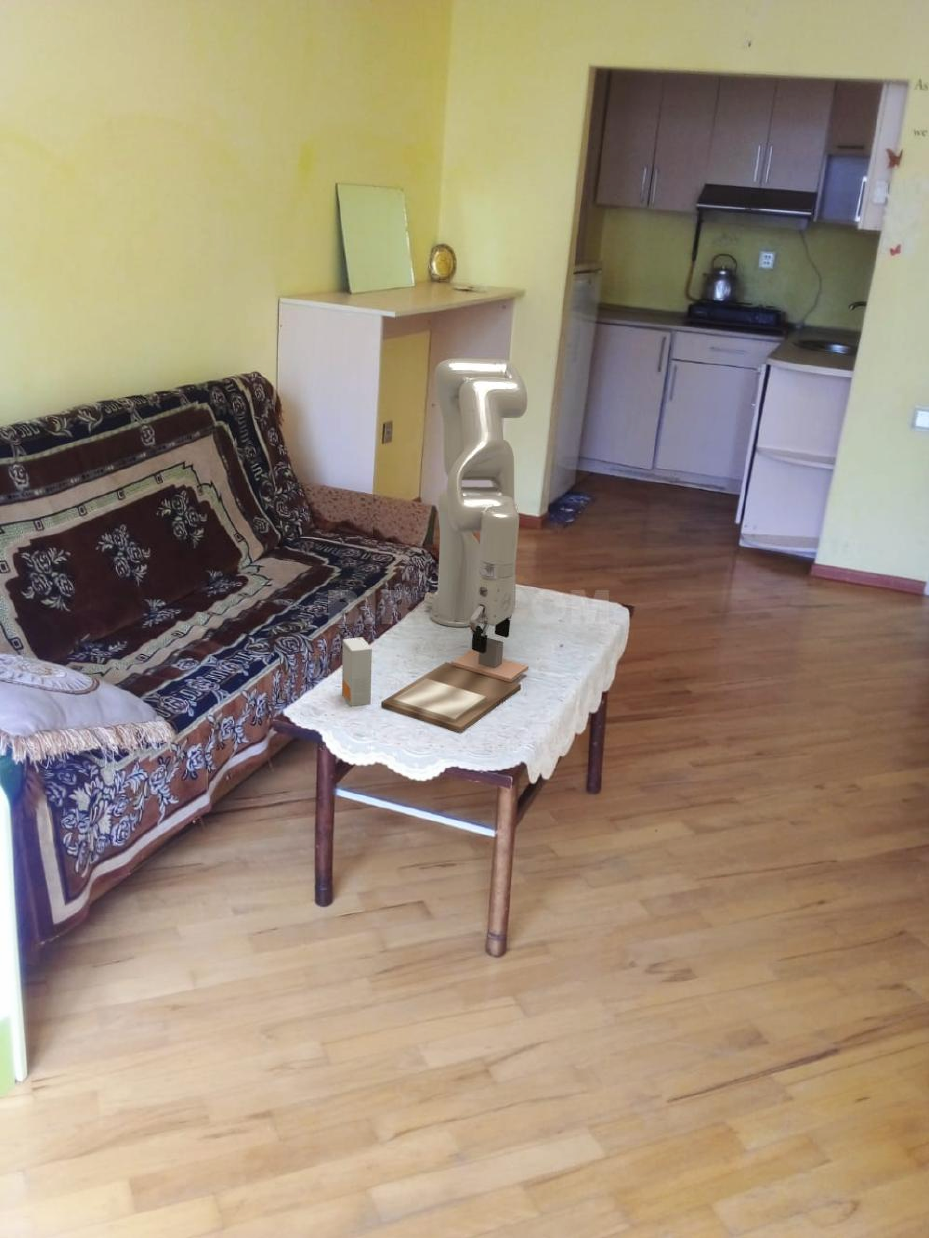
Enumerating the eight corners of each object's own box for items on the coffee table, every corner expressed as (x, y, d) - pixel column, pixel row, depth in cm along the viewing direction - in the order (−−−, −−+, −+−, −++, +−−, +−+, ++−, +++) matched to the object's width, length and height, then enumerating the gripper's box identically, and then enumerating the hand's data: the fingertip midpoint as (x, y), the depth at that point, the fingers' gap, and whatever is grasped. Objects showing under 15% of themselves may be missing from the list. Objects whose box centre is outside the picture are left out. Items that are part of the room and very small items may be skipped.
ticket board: (381, 707, 215) (381, 698, 214) (445, 667, 234) (446, 658, 233) (460, 733, 206) (461, 723, 206) (520, 689, 226) (521, 680, 225)
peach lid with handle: (451, 665, 232) (453, 639, 230) (470, 653, 238) (472, 628, 236) (510, 682, 225) (512, 656, 223) (528, 669, 232) (530, 644, 230)
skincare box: (341, 694, 219) (342, 638, 215) (361, 691, 221) (362, 636, 216) (350, 707, 214) (351, 650, 210) (371, 704, 216) (372, 648, 211)
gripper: (491, 583, 215) (485, 662, 222) (532, 559, 229) (525, 634, 236) (458, 574, 219) (453, 652, 226) (501, 551, 233) (494, 625, 239)
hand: (490, 643), depth 231 cm, fingers open, 9 cm apart
